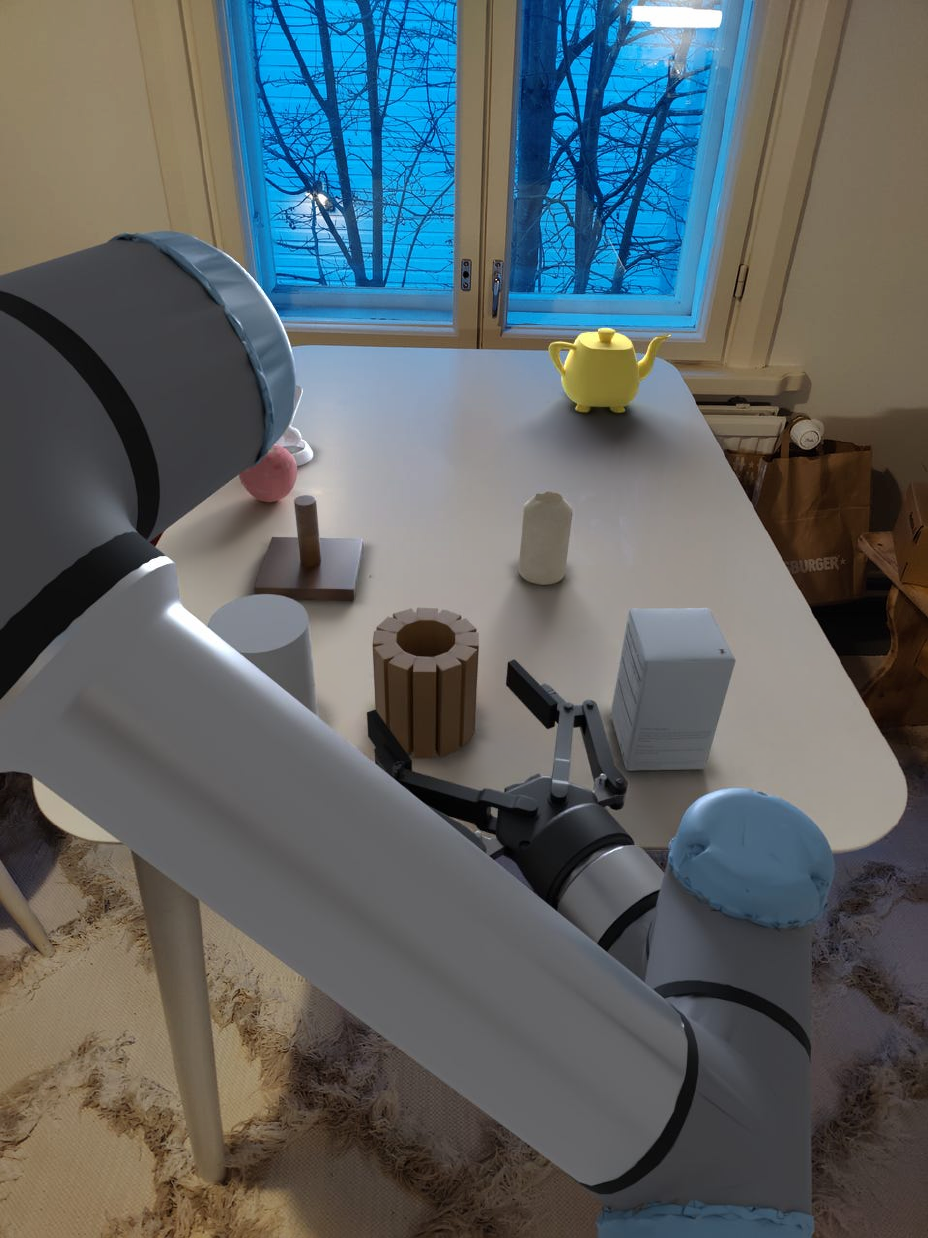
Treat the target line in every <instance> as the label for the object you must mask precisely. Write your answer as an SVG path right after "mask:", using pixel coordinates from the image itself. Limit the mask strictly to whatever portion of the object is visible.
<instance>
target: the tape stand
mask: <svg viewBox="0 0 928 1238" xmlns="http://www.w3.org/2000/svg"><path fill="white" fill-rule="evenodd" d="M293 505H294V514H295V523H296V532H297V536H271V539H270V541H269V544H268V547H267V550H266V553H265V555H264V558H263V561H262V564H261V566H260V570H259V573H258V575H257V577H256V578H257V579H256V581H255V584H254V586H253V591H254V595H259V594H273V595H280V596H285V597H288V598H291V599H293V600H314V601H317V600H318V601H319V600H320V601H323V600H324V601H355V599H356V594H357V588H358V582H359V577H360V571H361V563H362V559H363V554H364V539H363V538H351V537H350V538H349V537H347V538H346V537H320V527H319V517H318V506H317V499H316V497H314V496H313V495H310V494H309V495H299V496H297V497H295V498H294V500H293Z"/></svg>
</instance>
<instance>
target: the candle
mask: <svg viewBox="0 0 928 1238" xmlns="http://www.w3.org/2000/svg"><path fill="white" fill-rule="evenodd" d="M573 512H574V510H573V507H572V506H571V504H569V503H568V501H566V499H564V497H563V496H562V495H561V494H560V493H558V492H553V491H545V492H544V493H536V494H535V495H534V496H533V497H531V498H530V499H529V500H528V501H526V503H524V505H523V513H522V523H521V524H522V525H521V534H520V535H521V537H520V548H519V559H518V562H519V563H518V573H519V575H520V577H521V578H522V579H524V580H525V581H526V582H529V583H532V584H535V585H544V586H545V585H554V584H557V583H559V582H561V581H562V580H563V579H564V578H565V574H566V569H567V559H568V554H569V553H568V552H569V546H570V545H569V544H570V536H571V528H572V521H573Z"/></svg>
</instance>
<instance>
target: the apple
mask: <svg viewBox="0 0 928 1238" xmlns="http://www.w3.org/2000/svg"><path fill="white" fill-rule="evenodd" d="M291 454H292V453H291V452H290V451H289V450H287V449H286V448H285V447H284V446H283V447H281V446H279V445H276V444H274V445H273V446H272V447H271V448H270V449H269V450H268V452H267V455H265V456H264V457H263V459H262V460H261V462H259V463H258V464H256V465H254V466H252V467H250V468H247V469H245V470H244V471H243V472H241V473H240V474H239V475H238V476H239V480H240V482H241V484H242V486H243V487H244V488H245V490H246V491H247V493H249V494H250V495H251V496H252V497H253V498H255V499H256V500H258V501H260V502H265V503H274V502H277V501H280V500H282V499H284V498H286V497H287V496H288V495H289V494H290V493H291V492H292V490H293V488H294V487H295V484H296V481H297V476H298V466H297V465H296V462H295V459H294V457H293V456H292V455H291Z"/></svg>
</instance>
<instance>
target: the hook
mask: <svg viewBox="0 0 928 1238" xmlns="http://www.w3.org/2000/svg"><path fill="white" fill-rule="evenodd" d="M303 393H304V391H303V388H302V387H301V386H299V385H297V384H296V388H295V400H294V401H295V407H294V411H293V415H292V418H291V420H290V422H289V425H288V427H287V429H286V430H285V432H284V433H283V435H282V436H281V437H280V439H279V440H278V441H277V442H276V443H275V444H276V445H279V446H281V447H283V448H284V447H297V448H301V449H302V450H300V451H297V452H294V453H291V455H292V456H293V457H294V459H295V462H296V465H297V467H299V466H303V465H305V464H307V463H309V462H310V461H312V459H313V457H314V452H313V449H312V448H311V446H310V445H309V443H308V442H307V441H305V440H304V439H302V434H301V432H300V431H299V429H297V428H295V427H292V425H293V421H294V419H295V416H296V413H297V410H298V407H299V404H300V402H301V399H302V396H303Z"/></svg>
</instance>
